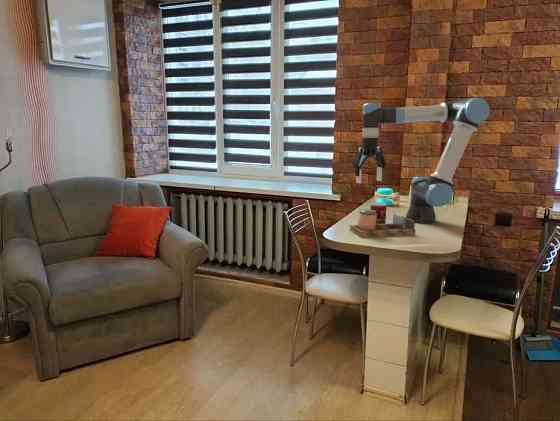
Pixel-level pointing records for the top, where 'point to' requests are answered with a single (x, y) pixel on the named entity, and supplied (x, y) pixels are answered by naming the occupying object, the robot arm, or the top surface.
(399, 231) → the wooden box
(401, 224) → the bar
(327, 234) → the top surface
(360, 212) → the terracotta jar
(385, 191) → the donuts
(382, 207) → the canned food
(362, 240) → the top surface
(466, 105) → the robot arm
